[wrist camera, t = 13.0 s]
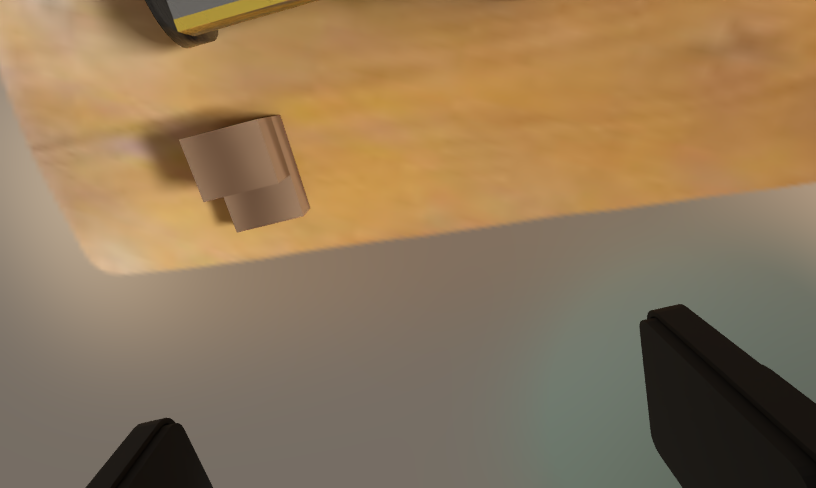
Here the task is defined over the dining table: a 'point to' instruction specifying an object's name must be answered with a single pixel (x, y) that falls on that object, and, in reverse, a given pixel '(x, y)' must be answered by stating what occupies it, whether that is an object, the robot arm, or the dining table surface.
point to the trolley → (210, 16)
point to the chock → (248, 172)
